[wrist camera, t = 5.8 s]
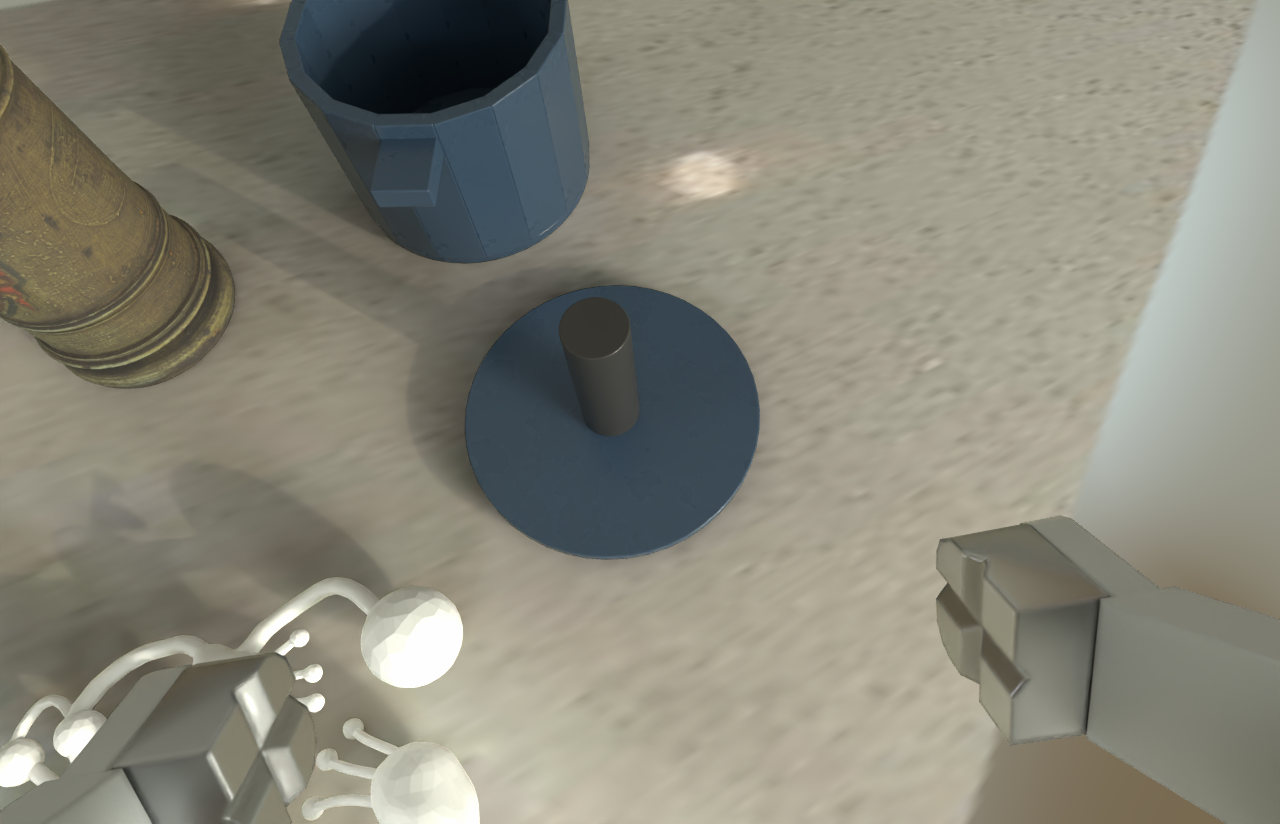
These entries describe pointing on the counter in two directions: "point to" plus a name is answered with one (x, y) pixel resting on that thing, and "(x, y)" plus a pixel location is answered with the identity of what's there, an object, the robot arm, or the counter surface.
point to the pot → (447, 116)
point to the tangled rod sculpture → (309, 703)
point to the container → (97, 253)
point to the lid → (612, 422)
